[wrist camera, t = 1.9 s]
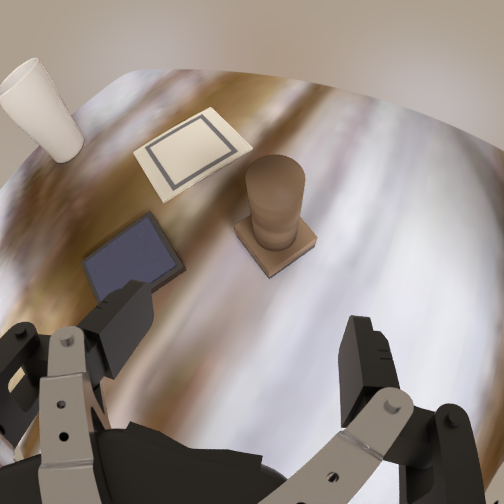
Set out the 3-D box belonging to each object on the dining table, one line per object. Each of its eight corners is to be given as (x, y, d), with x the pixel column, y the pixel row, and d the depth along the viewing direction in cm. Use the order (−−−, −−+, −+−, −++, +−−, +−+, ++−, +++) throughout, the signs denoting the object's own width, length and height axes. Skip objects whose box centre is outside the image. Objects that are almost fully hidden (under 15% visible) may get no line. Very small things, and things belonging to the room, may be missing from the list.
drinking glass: (55, 178, 32) (-9, 107, 18) (49, 151, 35) (-4, 85, 21) (94, 148, 33) (38, 66, 19) (85, 124, 36) (38, 51, 22)
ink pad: (153, 215, 29) (149, 210, 28) (186, 269, 26) (183, 266, 26) (85, 264, 27) (80, 261, 26) (110, 322, 25) (105, 320, 24)
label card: (211, 108, 34) (210, 106, 33) (252, 149, 31) (252, 147, 30) (133, 153, 32) (132, 152, 32) (163, 203, 29) (162, 202, 29)
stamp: (280, 207, 28) (282, 135, 19) (314, 247, 26) (333, 185, 17) (236, 236, 27) (218, 171, 18) (269, 279, 26) (266, 229, 16)
